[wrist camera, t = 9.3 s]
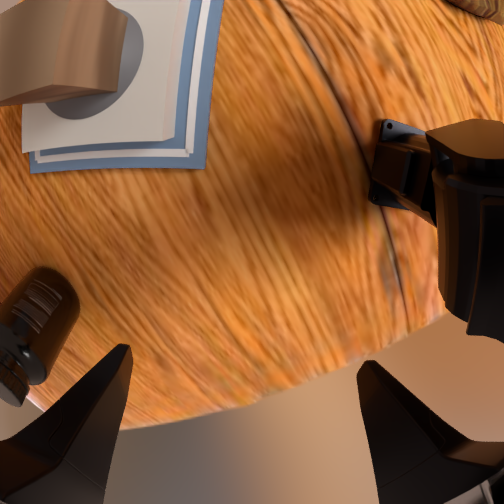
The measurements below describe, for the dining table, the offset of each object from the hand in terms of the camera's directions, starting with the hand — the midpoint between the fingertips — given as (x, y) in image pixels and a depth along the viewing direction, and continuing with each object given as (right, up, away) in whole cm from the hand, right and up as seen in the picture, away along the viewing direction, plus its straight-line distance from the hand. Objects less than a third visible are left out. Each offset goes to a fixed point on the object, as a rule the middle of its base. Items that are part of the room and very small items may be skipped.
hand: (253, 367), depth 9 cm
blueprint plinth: (-9, +16, +4) cm, 19 cm away
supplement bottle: (-19, 0, +12) cm, 23 cm away
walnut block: (-9, +14, +1) cm, 17 cm away
